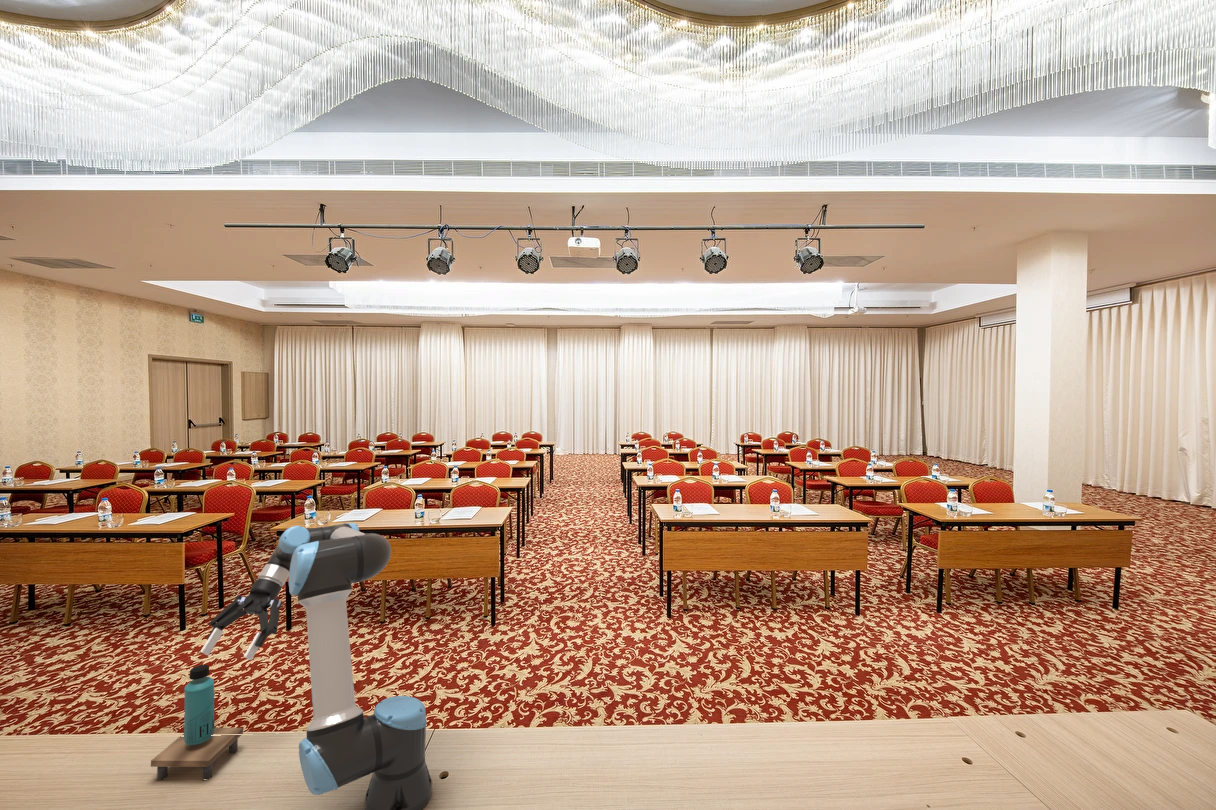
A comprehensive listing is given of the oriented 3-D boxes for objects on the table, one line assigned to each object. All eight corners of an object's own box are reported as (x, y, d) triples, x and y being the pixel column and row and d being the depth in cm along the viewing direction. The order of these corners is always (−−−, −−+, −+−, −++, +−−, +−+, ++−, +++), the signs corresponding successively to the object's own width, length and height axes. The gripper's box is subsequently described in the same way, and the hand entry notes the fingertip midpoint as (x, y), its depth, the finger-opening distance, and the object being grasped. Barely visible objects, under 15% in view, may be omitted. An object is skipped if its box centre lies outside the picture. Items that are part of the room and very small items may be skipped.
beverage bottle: (197, 753, 133) (198, 675, 132) (176, 749, 134) (176, 672, 134) (221, 737, 139) (221, 662, 139) (200, 733, 140) (201, 659, 140)
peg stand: (242, 747, 143) (243, 727, 143) (208, 782, 130) (208, 760, 130) (190, 747, 143) (190, 727, 143) (150, 782, 130) (150, 760, 130)
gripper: (312, 591, 160) (273, 665, 145) (240, 585, 163) (195, 656, 149) (300, 580, 154) (258, 655, 140) (226, 574, 158) (177, 646, 143)
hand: (225, 656), depth 144 cm, fingers open, 13 cm apart
